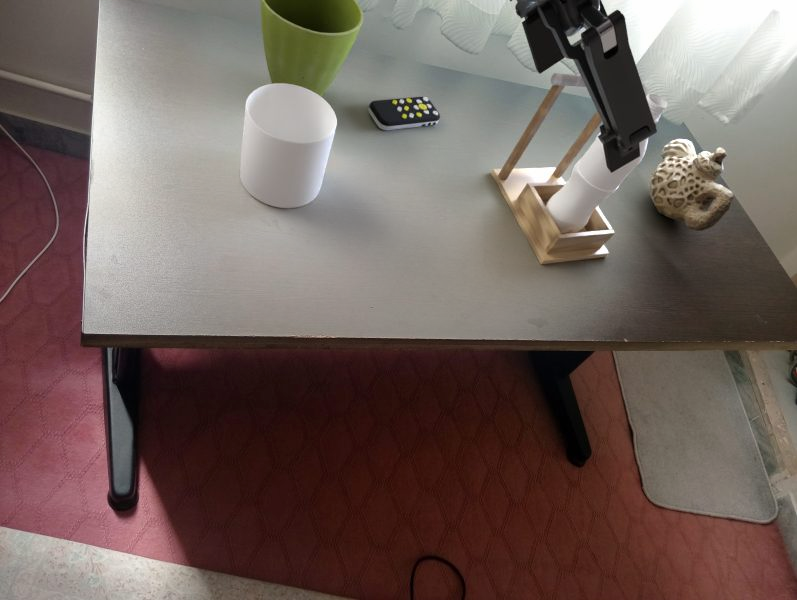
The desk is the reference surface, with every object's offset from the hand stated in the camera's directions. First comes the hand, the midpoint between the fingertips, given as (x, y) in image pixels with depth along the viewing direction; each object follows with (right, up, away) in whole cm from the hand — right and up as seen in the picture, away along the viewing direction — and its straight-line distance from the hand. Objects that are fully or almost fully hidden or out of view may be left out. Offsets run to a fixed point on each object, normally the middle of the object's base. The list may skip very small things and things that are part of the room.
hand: (584, 110), depth 51 cm
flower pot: (-34, +17, +40) cm, 55 cm away
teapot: (+34, -1, +54) cm, 63 cm away
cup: (-35, 0, +29) cm, 45 cm away
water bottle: (+9, -5, +40) cm, 42 cm away
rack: (+8, -3, +42) cm, 43 cm away
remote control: (-17, +15, +45) cm, 50 cm away
